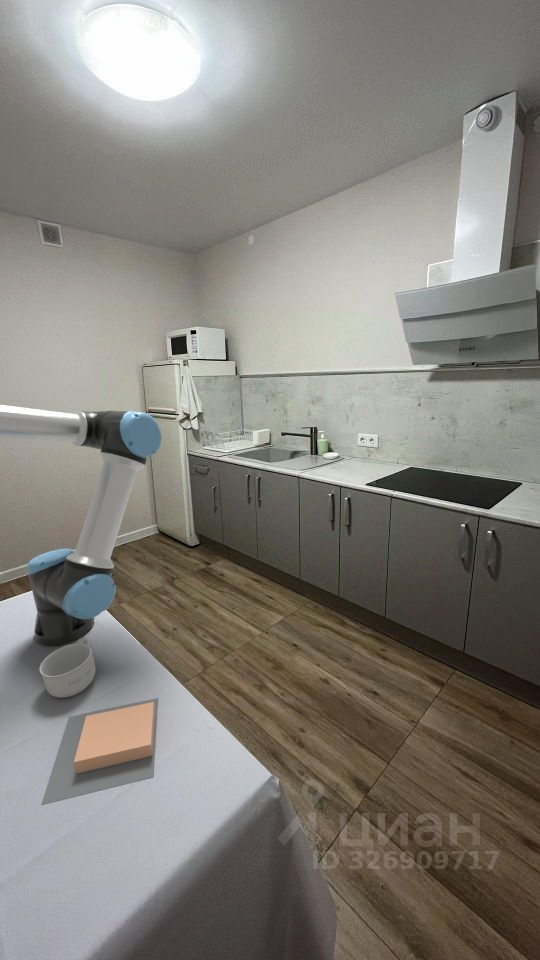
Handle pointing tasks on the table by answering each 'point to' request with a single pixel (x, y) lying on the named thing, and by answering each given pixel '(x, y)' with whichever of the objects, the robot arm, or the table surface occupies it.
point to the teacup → (68, 669)
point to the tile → (116, 737)
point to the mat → (76, 784)
